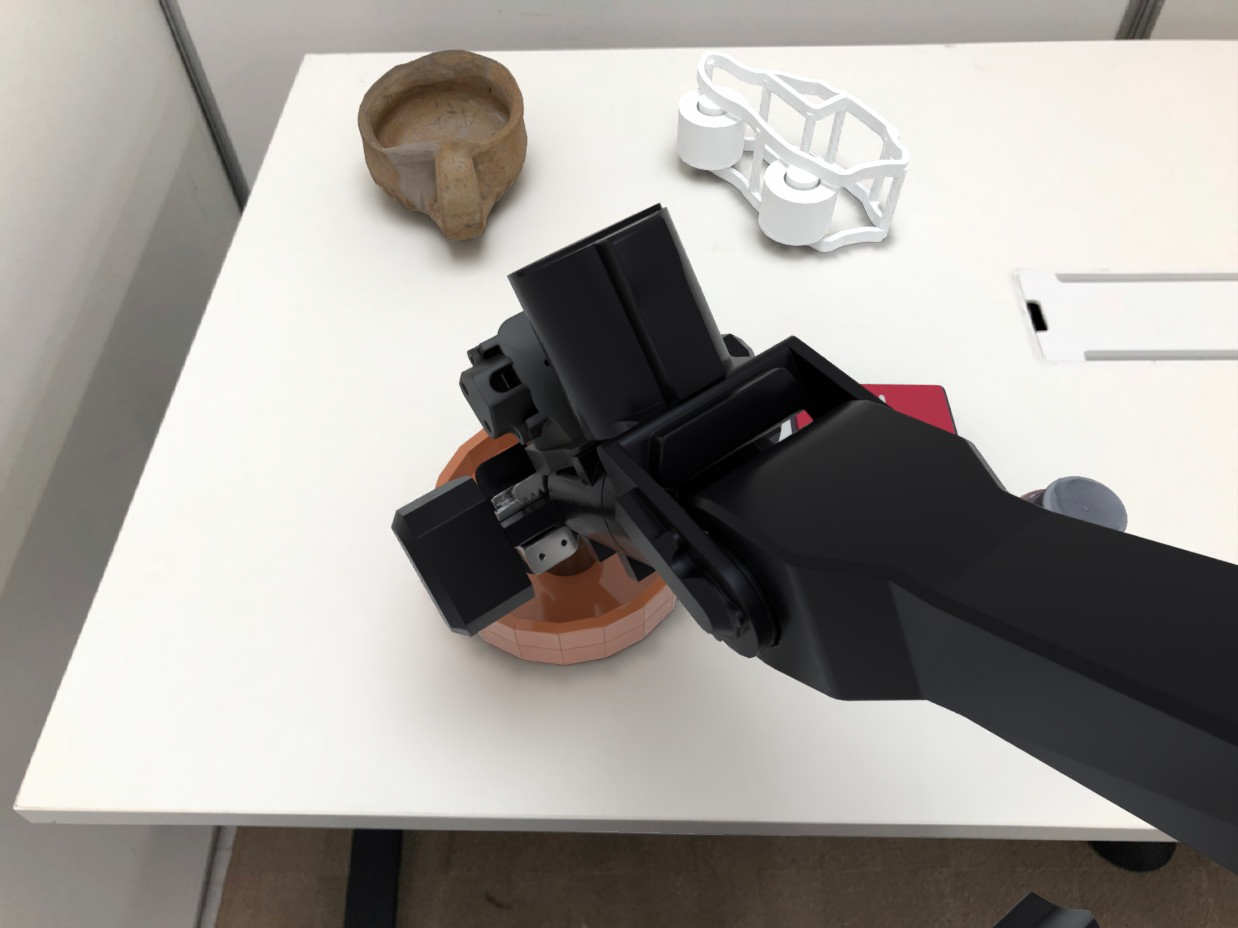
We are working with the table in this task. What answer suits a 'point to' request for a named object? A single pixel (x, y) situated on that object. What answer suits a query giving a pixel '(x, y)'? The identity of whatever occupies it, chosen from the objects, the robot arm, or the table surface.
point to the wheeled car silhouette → (788, 153)
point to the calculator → (899, 405)
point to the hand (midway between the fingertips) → (544, 461)
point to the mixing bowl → (569, 594)
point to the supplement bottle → (1082, 501)
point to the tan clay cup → (445, 137)
